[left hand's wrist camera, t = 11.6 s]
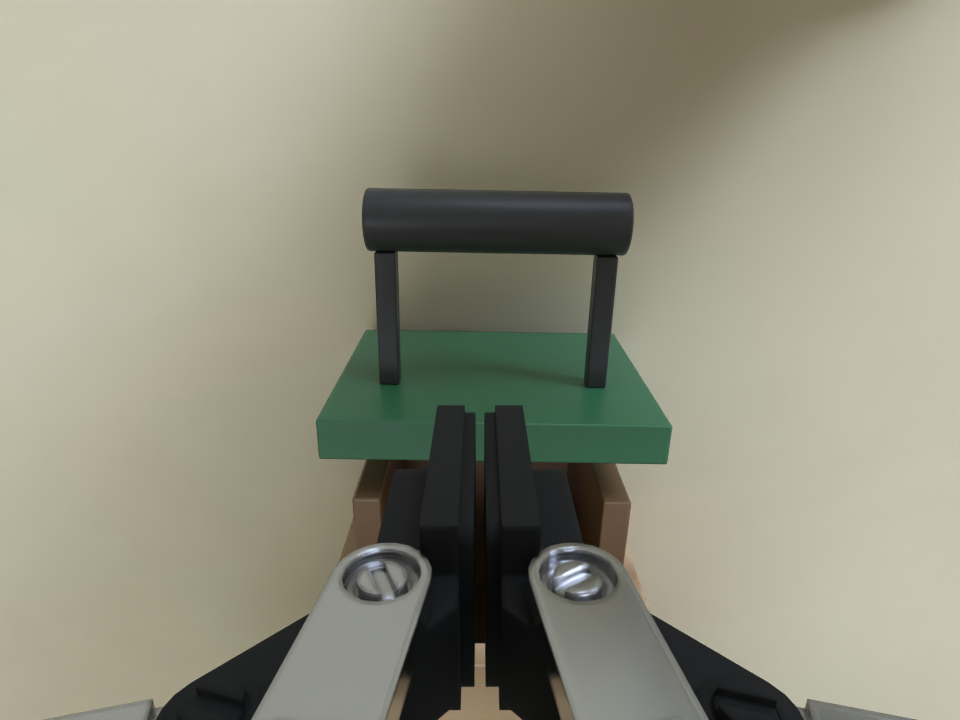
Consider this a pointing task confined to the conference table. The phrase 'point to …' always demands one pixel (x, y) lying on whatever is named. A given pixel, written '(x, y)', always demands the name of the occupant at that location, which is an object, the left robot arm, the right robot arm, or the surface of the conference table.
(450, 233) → the drawer
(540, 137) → the conference table surface
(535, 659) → the left robot arm
